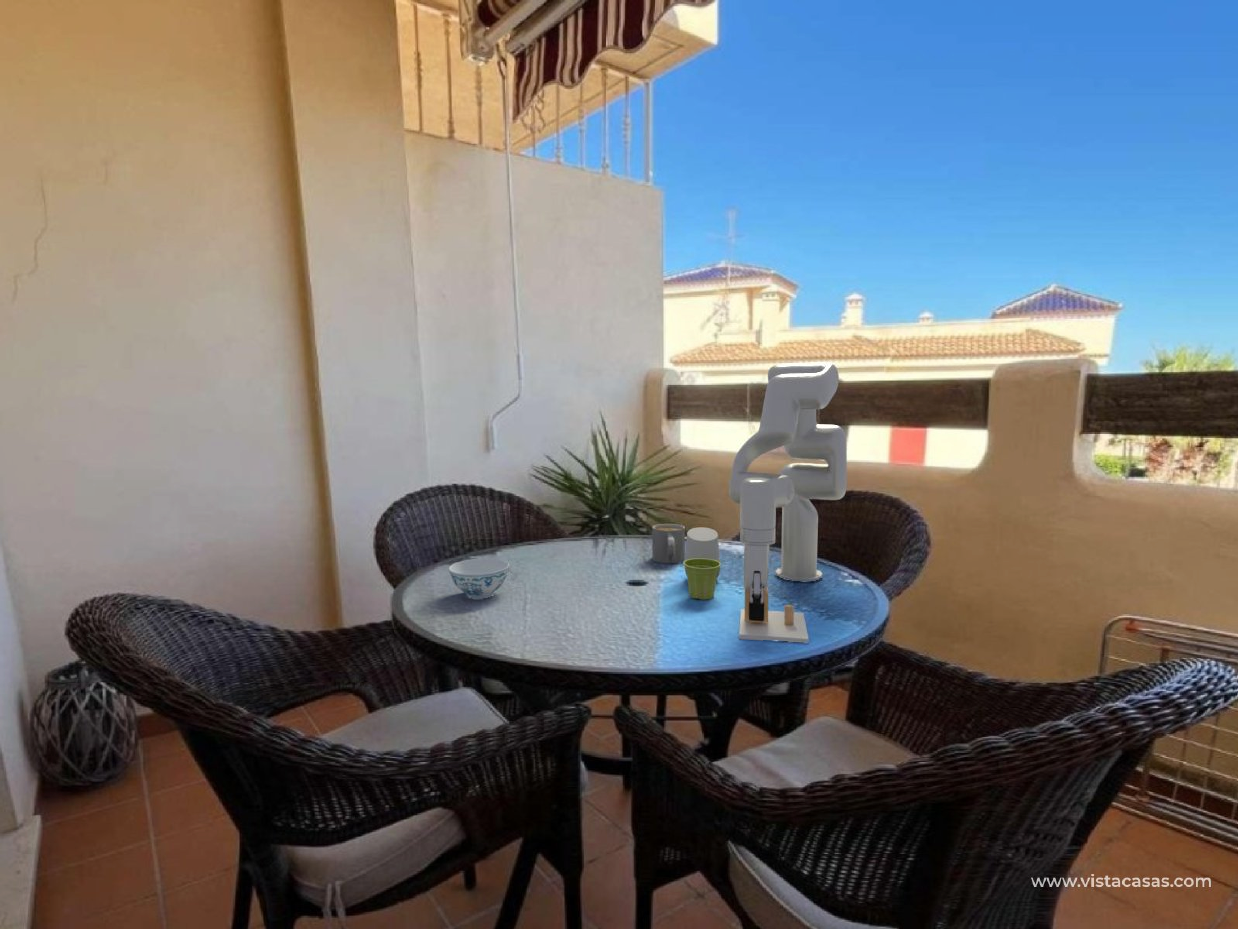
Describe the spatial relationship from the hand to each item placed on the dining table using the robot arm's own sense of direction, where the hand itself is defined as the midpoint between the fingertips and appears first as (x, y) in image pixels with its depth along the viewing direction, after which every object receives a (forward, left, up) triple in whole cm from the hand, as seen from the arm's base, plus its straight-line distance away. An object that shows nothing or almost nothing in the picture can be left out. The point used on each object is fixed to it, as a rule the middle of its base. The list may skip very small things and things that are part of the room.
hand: (756, 615), depth 144 cm
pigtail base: (0, +3, -3) cm, 4 cm away
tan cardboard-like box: (0, 0, -1) cm, 1 cm away
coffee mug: (-52, -27, -3) cm, 58 cm away
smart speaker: (-33, -15, -3) cm, 36 cm away
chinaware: (-10, -70, -3) cm, 70 cm away
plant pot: (-19, -14, -3) cm, 23 cm away
